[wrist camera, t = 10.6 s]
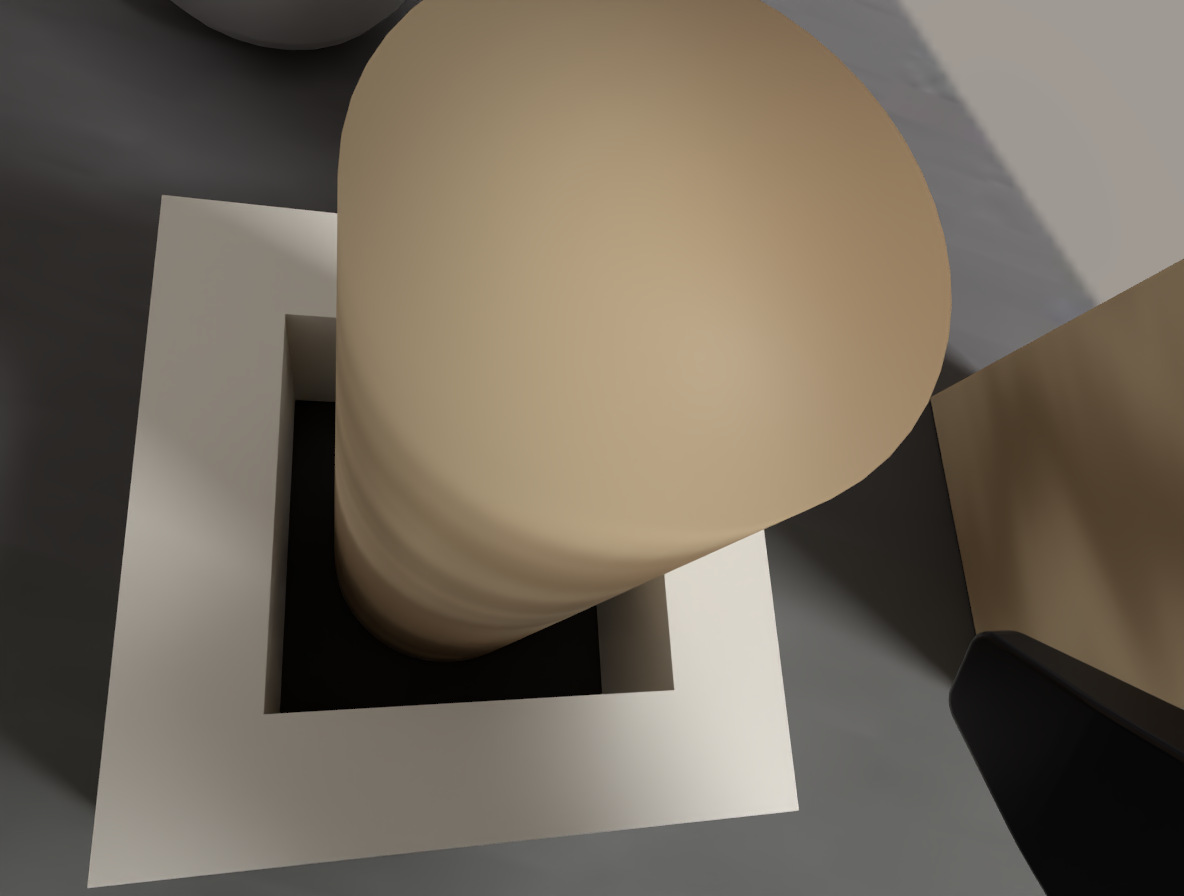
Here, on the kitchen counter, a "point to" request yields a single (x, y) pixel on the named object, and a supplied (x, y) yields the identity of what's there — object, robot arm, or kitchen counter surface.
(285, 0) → the plastic bottle
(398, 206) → the peg
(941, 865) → the kitchen counter surface
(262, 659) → the socket
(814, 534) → the kitchen counter surface
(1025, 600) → the tall textured pillar
